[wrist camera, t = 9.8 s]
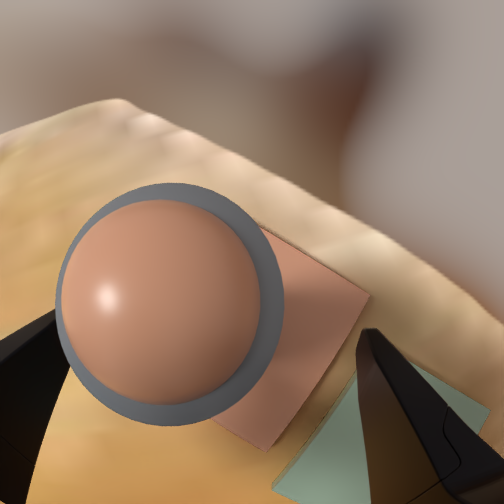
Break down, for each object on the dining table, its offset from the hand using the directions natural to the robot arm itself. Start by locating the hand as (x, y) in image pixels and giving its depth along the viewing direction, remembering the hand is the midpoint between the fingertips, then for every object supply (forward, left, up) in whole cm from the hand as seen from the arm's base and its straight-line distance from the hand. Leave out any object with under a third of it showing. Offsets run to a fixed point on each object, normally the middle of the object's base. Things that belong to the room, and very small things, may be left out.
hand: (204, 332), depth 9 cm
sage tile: (-12, -5, -10) cm, 16 cm away
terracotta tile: (0, 0, -10) cm, 10 cm away
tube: (0, 0, -9) cm, 9 cm away
